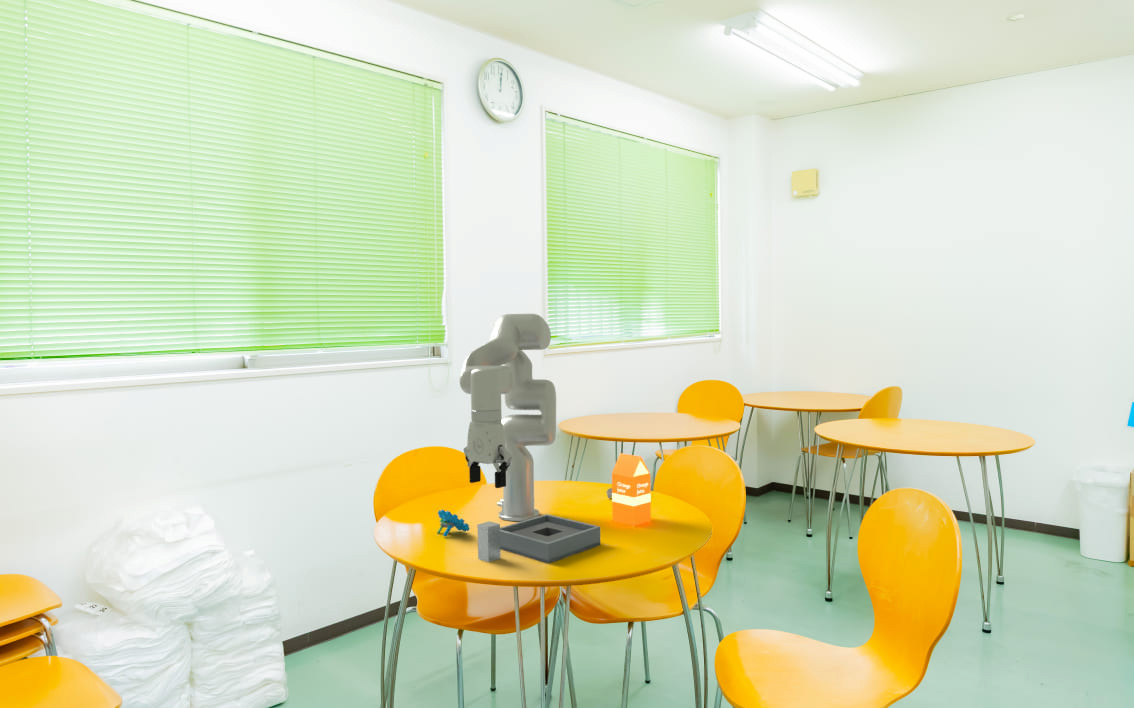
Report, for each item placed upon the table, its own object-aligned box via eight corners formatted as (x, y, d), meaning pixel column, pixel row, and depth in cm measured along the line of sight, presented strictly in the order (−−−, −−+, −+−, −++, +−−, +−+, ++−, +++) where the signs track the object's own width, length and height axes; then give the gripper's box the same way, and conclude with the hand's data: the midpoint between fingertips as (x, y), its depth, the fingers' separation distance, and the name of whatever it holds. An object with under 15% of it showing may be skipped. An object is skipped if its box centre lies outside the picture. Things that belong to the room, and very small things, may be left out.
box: (494, 548, 189) (494, 529, 188) (547, 531, 203) (546, 514, 203) (548, 564, 175) (547, 544, 175) (600, 545, 190) (600, 526, 190)
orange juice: (629, 516, 219) (628, 451, 218) (651, 521, 212) (650, 455, 211) (611, 521, 213) (610, 455, 212) (633, 526, 207) (633, 458, 206)
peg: (478, 559, 179) (477, 524, 179) (490, 555, 182) (489, 521, 182) (488, 563, 177) (487, 527, 176) (500, 559, 180) (499, 524, 179)
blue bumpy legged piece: (477, 528, 199) (451, 507, 195) (466, 546, 196) (440, 526, 192) (457, 527, 208) (432, 507, 204) (446, 544, 205) (421, 525, 201)
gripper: (453, 415, 181) (454, 482, 182) (498, 420, 169) (499, 492, 170) (475, 413, 187) (476, 478, 187) (521, 417, 175) (522, 486, 175)
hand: (487, 484), depth 178 cm, fingers open, 9 cm apart
